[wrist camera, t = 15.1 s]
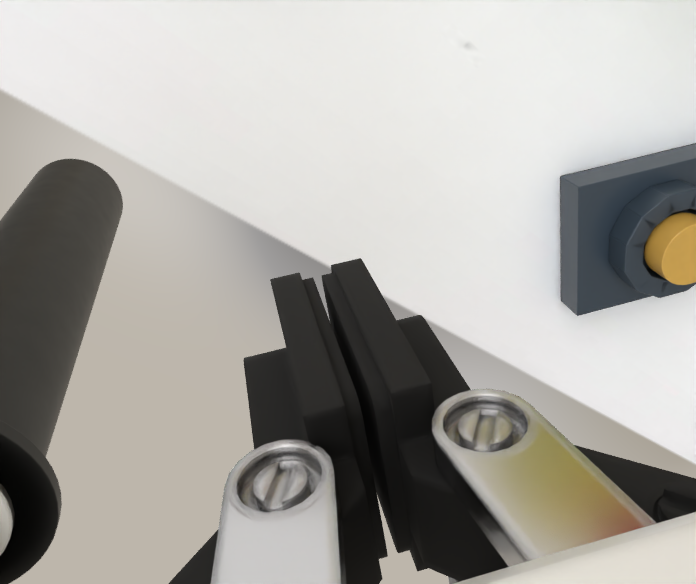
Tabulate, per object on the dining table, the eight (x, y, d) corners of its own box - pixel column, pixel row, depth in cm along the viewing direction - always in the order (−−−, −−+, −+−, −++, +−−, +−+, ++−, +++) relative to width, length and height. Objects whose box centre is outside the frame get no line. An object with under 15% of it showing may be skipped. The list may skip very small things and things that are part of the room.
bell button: (641, 279, 39) (659, 292, 38) (645, 220, 37) (664, 231, 36) (700, 264, 40) (720, 276, 38) (707, 205, 38) (728, 215, 36)
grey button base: (560, 300, 43) (592, 330, 40) (560, 176, 39) (595, 197, 35) (707, 262, 44) (750, 287, 41) (722, 136, 40) (772, 153, 36)
